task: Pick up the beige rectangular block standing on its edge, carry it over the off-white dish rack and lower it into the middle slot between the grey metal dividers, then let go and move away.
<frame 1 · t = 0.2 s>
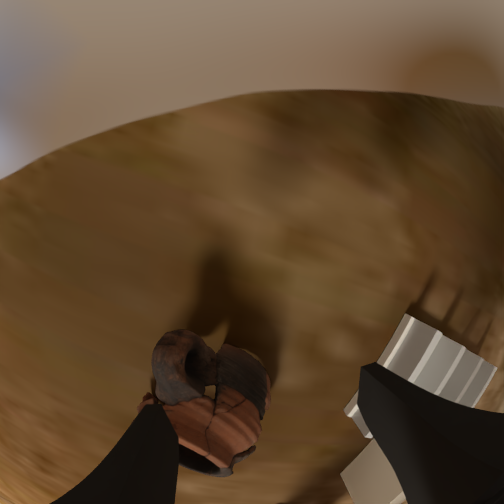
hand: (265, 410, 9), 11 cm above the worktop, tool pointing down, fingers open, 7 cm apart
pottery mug: (203, 380, 20), on the worktop
dish rack: (423, 382, 21), on the worktop
beige rectangular block: (366, 454, 22), on the worktop
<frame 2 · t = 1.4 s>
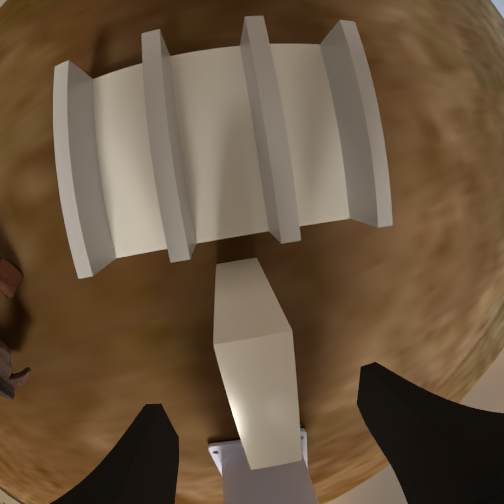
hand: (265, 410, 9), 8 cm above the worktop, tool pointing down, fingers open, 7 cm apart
dish rack: (217, 139, 13), on the worktop
beige rectangular block: (246, 317, 16), on the worktop
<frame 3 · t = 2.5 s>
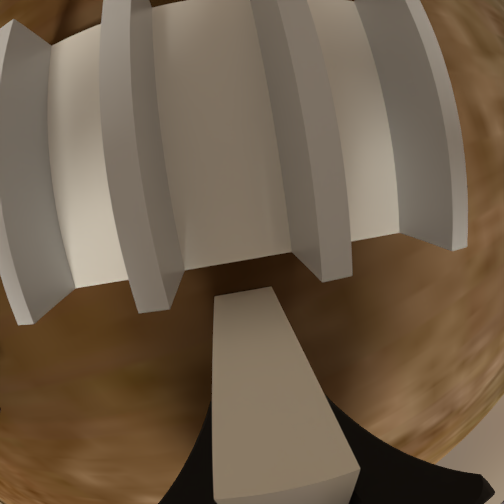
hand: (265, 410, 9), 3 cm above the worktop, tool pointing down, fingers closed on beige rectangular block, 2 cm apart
dish rack: (215, 116, 9), on the worktop
beige rectangular block: (255, 363, 11), on the worktop, touching gripper
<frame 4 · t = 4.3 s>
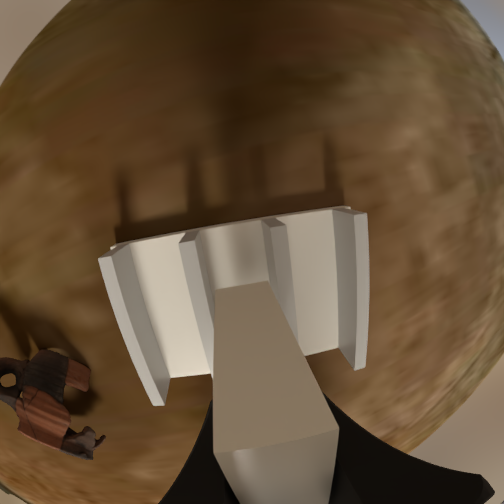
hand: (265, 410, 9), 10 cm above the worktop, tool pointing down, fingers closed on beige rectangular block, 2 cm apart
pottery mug: (59, 382, 19), on the worktop
dish rack: (242, 297, 18), on the worktop
beige rectangular block: (253, 353, 12), point 6 cm above the worktop, touching gripper
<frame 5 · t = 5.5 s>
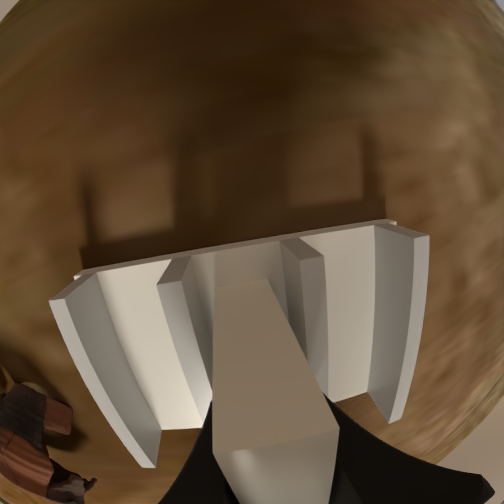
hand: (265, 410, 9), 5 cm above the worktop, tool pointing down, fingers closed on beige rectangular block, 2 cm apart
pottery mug: (41, 417, 14), on the worktop
dish rack: (251, 340, 13), on the worktop
beige rectangular block: (253, 352, 12), point 1 cm above the worktop, touching dish rack, gripper
when the fingers open (5 cm above the worktop, at t = 5.9 s): beige rectangular block stays where it is, resting on dish rack.
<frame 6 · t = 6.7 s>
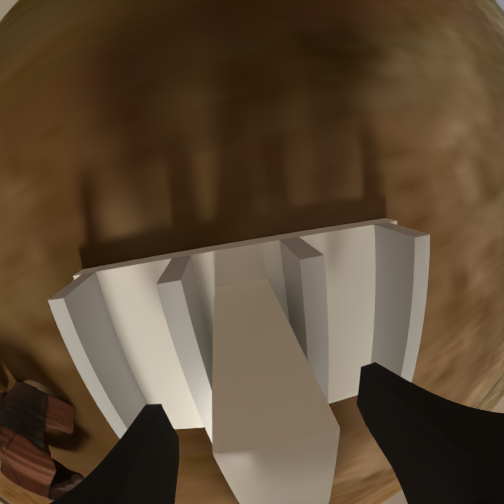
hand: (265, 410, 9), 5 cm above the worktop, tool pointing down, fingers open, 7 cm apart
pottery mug: (43, 416, 14), on the worktop
dish rack: (251, 340, 13), on the worktop
beige rectangular block: (253, 351, 12), point 1 cm above the worktop, touching dish rack
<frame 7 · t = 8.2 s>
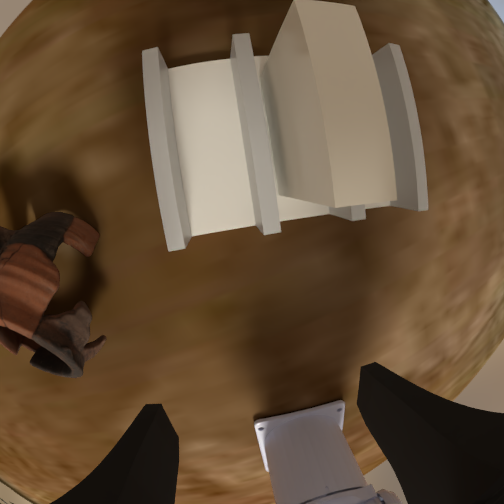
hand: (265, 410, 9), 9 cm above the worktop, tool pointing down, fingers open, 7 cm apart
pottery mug: (54, 272, 16), on the worktop
dish rack: (284, 134, 15), on the worktop
beige rectangular block: (288, 132, 14), point 1 cm above the worktop, touching dish rack
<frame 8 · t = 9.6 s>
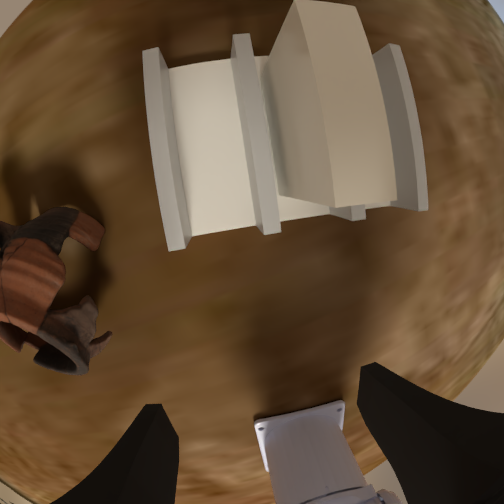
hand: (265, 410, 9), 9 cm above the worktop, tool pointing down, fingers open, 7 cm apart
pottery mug: (58, 268, 16), on the worktop
dish rack: (284, 134, 15), on the worktop
beige rectangular block: (288, 132, 14), point 1 cm above the worktop, touching dish rack
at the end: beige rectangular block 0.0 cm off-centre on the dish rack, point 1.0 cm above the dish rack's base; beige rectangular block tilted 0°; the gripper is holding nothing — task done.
